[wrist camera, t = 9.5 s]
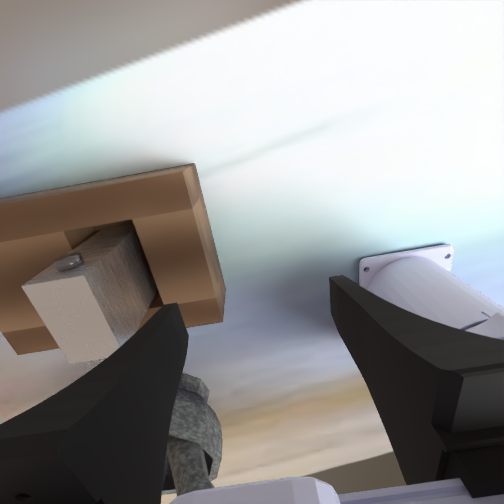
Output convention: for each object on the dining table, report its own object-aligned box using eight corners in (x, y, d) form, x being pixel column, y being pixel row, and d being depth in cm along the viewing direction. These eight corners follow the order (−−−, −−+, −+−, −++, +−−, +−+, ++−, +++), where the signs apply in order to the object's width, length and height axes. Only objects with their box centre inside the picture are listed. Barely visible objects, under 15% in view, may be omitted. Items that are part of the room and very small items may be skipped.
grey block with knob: (164, 284, 22) (127, 362, 14) (129, 290, 22) (73, 370, 14) (140, 215, 19) (79, 265, 12) (100, 222, 19) (15, 277, 12)
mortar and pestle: (184, 432, 32) (155, 587, 21) (118, 395, 29) (45, 555, 18) (251, 385, 29) (259, 537, 18) (187, 339, 26) (149, 489, 15)
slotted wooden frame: (225, 289, 24) (222, 321, 20) (55, 317, 24) (17, 355, 20) (194, 163, 19) (182, 171, 15) (-15, 201, 20) (-81, 219, 16)
